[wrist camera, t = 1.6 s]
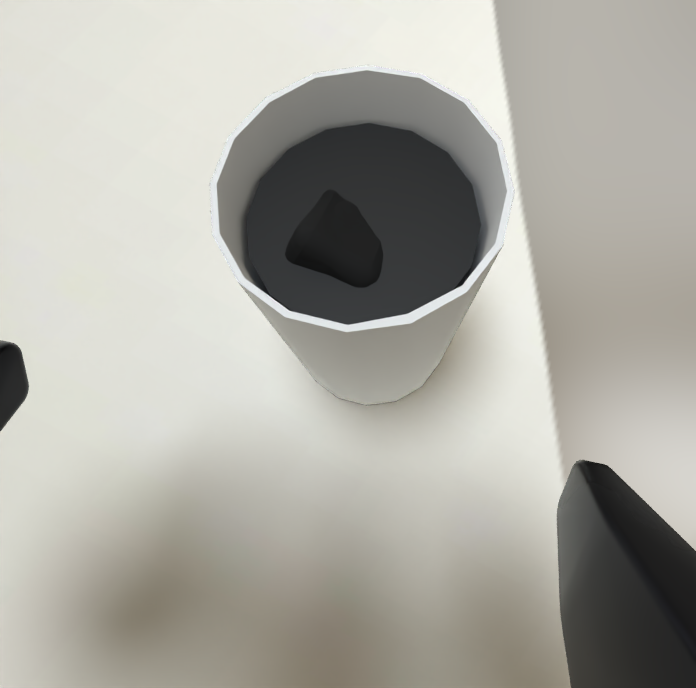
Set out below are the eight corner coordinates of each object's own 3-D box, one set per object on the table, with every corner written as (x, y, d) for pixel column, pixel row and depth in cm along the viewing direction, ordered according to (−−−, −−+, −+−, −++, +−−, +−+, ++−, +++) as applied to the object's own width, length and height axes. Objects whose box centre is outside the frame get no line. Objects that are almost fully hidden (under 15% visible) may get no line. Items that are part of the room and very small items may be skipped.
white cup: (412, 447, 20) (435, 387, 10) (257, 370, 21) (151, 254, 12) (483, 295, 21) (560, 121, 12) (335, 232, 23) (297, 31, 13)
